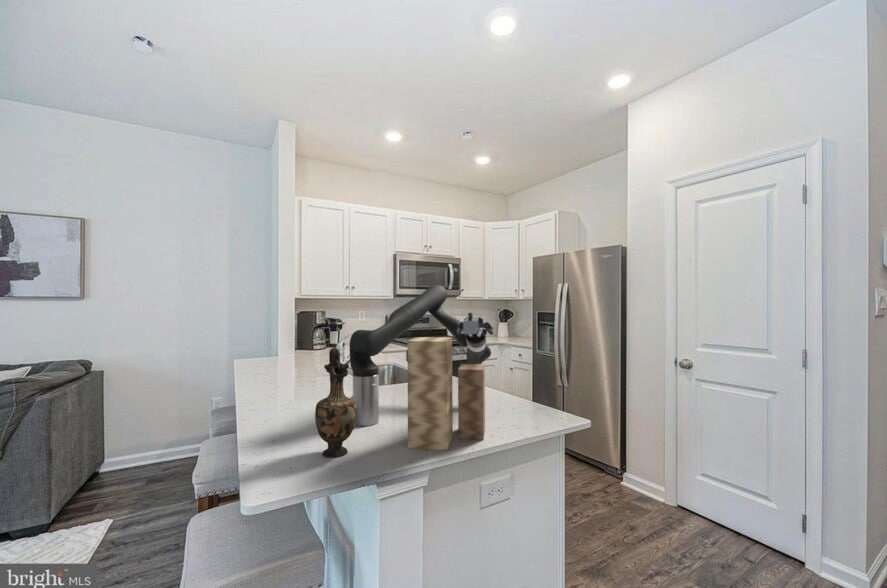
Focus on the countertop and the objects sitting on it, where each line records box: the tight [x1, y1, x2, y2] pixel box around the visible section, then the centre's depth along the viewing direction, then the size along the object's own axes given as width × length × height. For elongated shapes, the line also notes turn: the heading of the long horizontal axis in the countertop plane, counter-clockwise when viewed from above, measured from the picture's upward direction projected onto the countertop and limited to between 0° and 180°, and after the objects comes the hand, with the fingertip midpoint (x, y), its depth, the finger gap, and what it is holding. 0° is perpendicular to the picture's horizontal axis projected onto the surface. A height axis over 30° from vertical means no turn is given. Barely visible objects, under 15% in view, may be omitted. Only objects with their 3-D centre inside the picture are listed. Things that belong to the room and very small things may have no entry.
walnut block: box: [457, 363, 486, 441], centre depth 127 cm, size 8×10×22 cm
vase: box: [314, 347, 357, 459], centre depth 112 cm, size 12×12×30 cm
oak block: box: [407, 336, 454, 451], centre depth 120 cm, size 12×11×32 cm
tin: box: [462, 312, 480, 334], centre depth 129 cm, size 4×20×6 cm, turn 171°
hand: (473, 319), depth 134 cm, fingers closed on tin, 4 cm apart
